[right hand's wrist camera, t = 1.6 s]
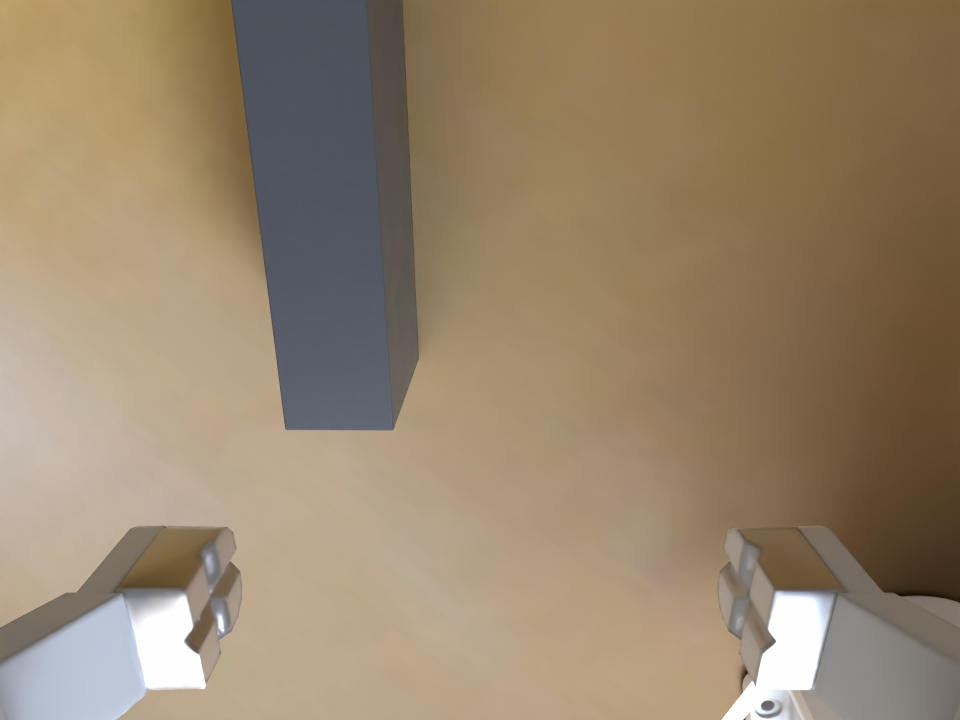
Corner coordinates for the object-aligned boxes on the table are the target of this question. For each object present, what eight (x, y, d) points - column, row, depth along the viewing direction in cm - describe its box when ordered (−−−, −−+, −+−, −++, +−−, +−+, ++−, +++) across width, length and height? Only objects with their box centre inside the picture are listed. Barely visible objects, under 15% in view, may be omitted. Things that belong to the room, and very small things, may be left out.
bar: (418, 359, 35) (393, 431, 27) (335, 359, 35) (284, 430, 27) (394, -177, 27) (347, -307, 19) (285, -174, 27) (192, -303, 19)
